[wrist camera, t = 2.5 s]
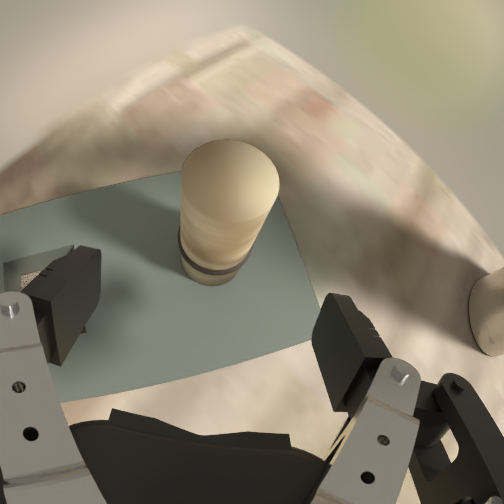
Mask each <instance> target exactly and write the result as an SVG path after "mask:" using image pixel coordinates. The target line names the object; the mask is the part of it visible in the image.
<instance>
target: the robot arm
mask: <svg viewBox="0 0 504 504" xmlns="http://www.w3.org/2000/svg"><path fill="white" fill-rule="evenodd" d="M101 260H102V255H101V250H100V249H96V248H92V247H87V246H83V245H80V246H78V247H77V248H76V249H75V250H74V251H73V252H72V253H71V254H70V255H69V256H63V257H60V258H58V259H56V260H53V261H52V262H51V263H50V264H49V265H48V266H47V267H46V268H45V269H44V270H42V271H41V272H40V273H39V275H37V276H36V277H35V278H34V279H33V280H32V281H31V282H30V283H29V284H28V285H27V286H26V287H25V288H24V289H23V290H22V291H21V292H4V293H1V294H0V504H396V501H397V498H398V496H399V493H400V490H401V487H402V484H403V481H404V478H405V475H406V472H407V468H408V467H409V470H410V473H411V475H412V478H413V481H414V484H415V487H416V490H417V493H418V496H419V499H420V502H421V504H504V437H503V435H502V433H501V432H500V430H499V428H498V427H497V425H496V423H495V422H494V420H493V418H492V417H491V415H490V413H489V412H488V410H487V409H486V407H485V405H484V404H483V402H482V401H481V399H480V398H479V396H478V394H477V393H476V391H475V390H474V388H473V387H472V385H471V384H470V383H469V382H468V381H467V380H466V379H464V378H463V377H461V376H459V375H457V374H453V373H447V374H444V375H443V376H442V378H441V379H440V381H439V382H438V384H433V383H429V382H425V381H421V377H420V374H419V373H418V371H417V370H416V369H415V368H414V367H413V366H412V365H411V364H409V363H408V362H406V361H404V360H401V359H398V358H393V357H392V355H391V354H390V352H389V350H388V349H387V347H386V345H385V344H384V342H383V340H382V339H381V337H379V334H378V332H377V331H376V330H375V327H374V326H373V324H372V323H371V321H370V319H369V318H367V317H366V316H365V315H364V314H363V313H362V312H361V311H358V309H357V307H356V306H355V304H354V302H353V301H352V299H351V298H350V296H346V295H340V294H334V293H329V294H328V295H327V296H326V298H325V300H324V302H323V305H322V308H321V310H320V313H319V315H318V318H317V320H316V323H315V326H314V328H313V332H312V346H313V349H314V352H315V355H316V358H317V362H318V365H319V368H320V371H321V374H322V377H323V380H324V383H325V386H326V389H327V392H328V395H329V399H330V402H331V405H332V408H333V411H334V412H348V415H349V416H348V417H347V419H346V420H345V422H344V423H343V425H342V427H341V429H340V430H339V432H338V434H337V435H336V437H335V439H334V440H333V442H332V444H331V445H330V447H329V449H328V450H327V452H326V454H325V455H324V457H323V458H322V459H321V458H319V457H317V456H315V455H313V454H311V453H309V452H307V451H304V450H301V449H298V448H295V447H291V443H290V437H289V434H275V433H259V432H239V433H229V434H219V435H206V436H202V435H197V434H194V433H191V432H188V431H186V430H183V429H180V428H178V427H175V426H173V425H170V424H168V423H165V422H163V421H160V420H158V419H156V418H151V417H146V416H142V415H137V414H133V413H129V412H125V411H121V410H117V409H113V408H112V411H111V414H110V417H109V420H93V421H86V422H80V423H77V424H73V425H70V426H68V423H67V421H66V418H65V416H64V413H63V410H62V408H61V405H60V402H59V399H58V396H57V393H56V390H55V387H54V384H53V381H52V378H51V375H50V371H49V368H48V363H51V364H54V365H57V366H60V367H61V366H62V364H63V362H64V361H65V359H66V357H67V355H68V354H69V352H70V350H71V348H72V347H73V345H74V343H75V342H76V340H77V338H78V336H79V335H80V333H81V331H82V330H83V328H84V327H85V325H86V323H87V322H88V320H89V318H90V317H91V315H92V314H93V312H94V310H95V309H96V307H97V305H98V303H99V300H100V295H101ZM469 316H470V324H471V328H472V332H473V335H474V337H475V340H476V342H477V344H478V345H479V347H480V348H481V349H482V351H483V352H485V353H486V354H487V355H490V356H499V355H503V354H504V267H503V268H501V269H499V270H497V271H495V272H493V273H491V274H489V275H487V276H485V277H483V278H481V279H479V280H478V281H477V282H476V283H475V284H474V287H473V289H472V291H471V295H470V301H469ZM449 429H451V431H452V433H453V435H454V437H455V439H456V441H457V443H458V446H459V452H458V456H457V458H456V459H455V460H454V461H453V462H452V463H451V462H450V460H449V457H448V455H447V453H446V451H445V448H444V446H443V444H442V442H441V440H440V439H441V438H442V437H443V436H444V435H445V434H446V432H447V431H448V430H449Z"/></svg>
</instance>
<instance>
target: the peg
mask: <svg viewBox="0 0 504 504" xmlns="http://www.w3.org/2000/svg"><path fill="white" fill-rule="evenodd" d="M278 192H279V176H278V173H277V170H276V168H275V166H274V164H273V163H272V161H271V160H270V159H269V158H268V157H267V156H266V155H265V154H264V153H263V152H261V151H260V150H259V149H257V148H255V147H254V146H252V145H249V144H247V143H244V142H240V141H236V140H217V141H212V142H209V143H206V144H204V145H201V146H200V147H198V148H197V149H195V150H194V151H193V152H192V153H191V154H190V155H189V156H188V157H187V159H186V160H185V162H184V164H183V167H182V171H181V207H180V226H179V229H178V246H179V250H180V253H181V263H182V266H183V269H184V271H185V272H186V274H187V275H188V276H189V277H190V278H191V279H192V280H194V281H195V282H197V283H199V284H201V285H205V286H220V285H223V284H225V283H227V282H229V281H231V280H232V279H233V278H234V277H235V276H236V275H237V273H238V272H239V270H240V268H241V266H243V265H244V263H245V262H246V261H247V259H248V258H249V256H250V254H251V252H252V250H253V246H254V241H255V239H256V237H257V235H258V233H259V231H260V229H261V227H262V225H263V223H264V221H265V219H266V217H267V215H268V213H269V211H270V210H271V208H272V206H273V204H274V202H275V200H276V198H277V195H278Z"/></svg>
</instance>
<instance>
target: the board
mask: <svg viewBox="0 0 504 504" xmlns="http://www.w3.org/2000/svg"><path fill="white" fill-rule="evenodd" d="M180 207H181V171H179V172H174V173H168V174H163V175H158V176H152V177H147V178H142V179H138V180H133V181H128V182H123V183H119V184H114V185H110V186H106V187H101V188H97V189H93V190H89V191H85V192H81V193H77V194H73V195H69V196H65V197H61V198H58V199H54V200H50V201H47V202H43V203H40V204H36V205H33V206H29V207H26V208H23V209H19V210H16V211H13V212H10V213H6V214H3V215H0V294H1V293H4V292H21V278H20V276H22V275H26V274H29V273H33V272H37V271H41V270H44V269H45V268H46V267H47V266H48V265H49V264H50V263H51V262H52V261H53V260H56V259H58V258H60V257H63V256H69V255H70V254H71V253H72V252H73V251H74V250H75V249H76V248H77V247H78V246H80V245H83V246H87V247H92V248H96V249H100V250H101V255H102V260H101V295H100V300H99V303H98V305H97V307H96V309H95V310H94V312H93V314H92V315H91V317H90V318H89V320H88V322H87V323H86V325H85V327H86V333H82V334H80V335H79V336H78V338H77V340H76V342H75V343H74V345H73V347H72V348H71V350H70V352H69V354H68V355H67V357H66V359H65V361H64V362H63V364H62V366H61V367H60V366H57V365H54V364H51V363H48V368H49V371H50V375H51V378H52V381H53V384H54V387H55V390H56V393H57V396H58V399H59V402H67V401H74V400H80V399H86V398H92V397H98V396H104V395H109V394H114V393H120V392H125V391H130V390H134V389H139V388H144V387H148V386H153V385H157V384H162V383H166V382H170V381H174V380H178V379H182V378H186V377H190V376H194V375H198V374H202V373H205V372H209V371H213V370H216V369H220V368H224V367H227V366H231V365H234V364H237V363H241V362H244V361H247V360H251V359H254V358H257V357H260V356H264V355H267V354H270V353H273V352H276V351H279V350H282V349H285V348H288V347H291V346H294V345H297V344H300V343H303V342H305V341H308V340H311V339H312V332H313V328H314V326H315V323H316V320H317V318H318V315H319V313H320V310H321V309H320V307H319V304H318V301H317V298H316V295H315V293H314V290H313V287H312V284H311V281H310V279H309V276H308V273H307V270H306V268H305V265H304V262H303V260H302V257H301V254H300V251H299V249H298V246H297V243H296V241H295V238H294V236H293V233H292V230H291V228H290V225H289V222H288V220H287V217H286V215H285V212H284V210H283V207H282V204H281V202H280V199H279V197H278V195H277V198H276V200H275V202H274V204H273V206H272V208H271V210H270V211H269V213H268V215H267V217H266V219H265V221H264V223H263V225H262V227H261V229H260V231H259V233H258V235H257V237H256V239H255V241H254V246H253V250H252V252H251V254H250V256H249V258H248V259H247V261H246V262H245V263H244V265H243V266H241V268H240V270H239V272H238V273H237V275H236V276H235V277H234V278H233V279H232V280H231V281H229V282H227V283H225V284H223V285H220V286H205V285H201V284H199V283H197V282H195V281H194V280H192V279H191V278H190V277H189V276H188V275H187V274H186V272H185V271H184V269H183V266H182V263H181V253H180V250H179V246H178V229H179V226H180Z"/></svg>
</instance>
